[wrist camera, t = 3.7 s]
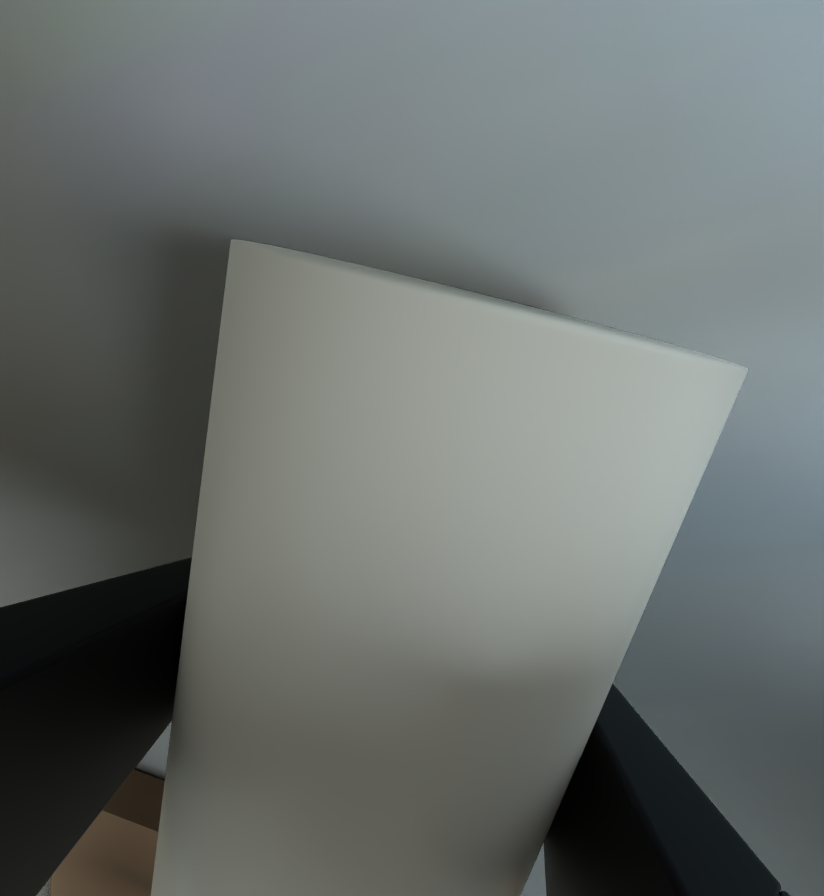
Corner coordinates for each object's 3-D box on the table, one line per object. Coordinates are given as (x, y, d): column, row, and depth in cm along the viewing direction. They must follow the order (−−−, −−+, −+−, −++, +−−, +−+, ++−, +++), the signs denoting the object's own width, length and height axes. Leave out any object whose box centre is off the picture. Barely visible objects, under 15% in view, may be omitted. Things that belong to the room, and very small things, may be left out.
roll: (666, 340, 8) (893, 417, 3) (477, 837, 11) (444, 1259, 6) (334, 256, 8) (87, 210, 4) (244, 752, 11) (49, 1079, 7)
